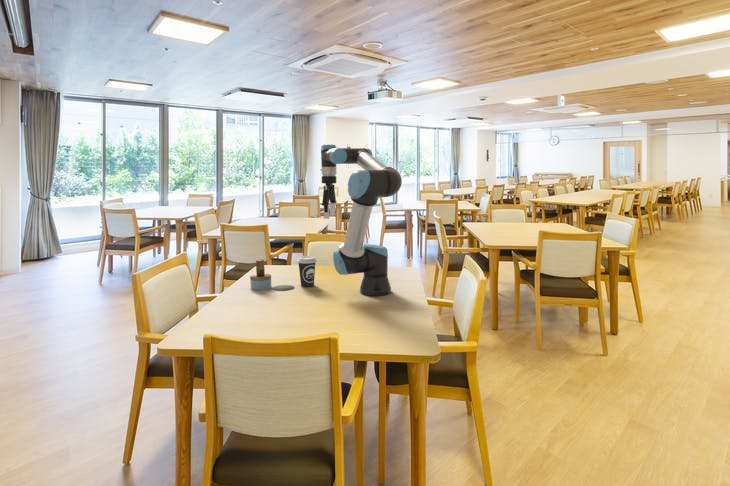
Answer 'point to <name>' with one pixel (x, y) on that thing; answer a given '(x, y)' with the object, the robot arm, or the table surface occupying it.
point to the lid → (260, 272)
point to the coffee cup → (307, 270)
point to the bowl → (260, 284)
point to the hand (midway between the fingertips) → (329, 217)
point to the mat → (283, 288)
